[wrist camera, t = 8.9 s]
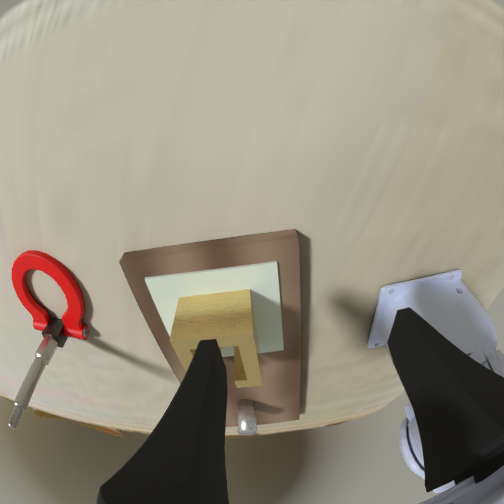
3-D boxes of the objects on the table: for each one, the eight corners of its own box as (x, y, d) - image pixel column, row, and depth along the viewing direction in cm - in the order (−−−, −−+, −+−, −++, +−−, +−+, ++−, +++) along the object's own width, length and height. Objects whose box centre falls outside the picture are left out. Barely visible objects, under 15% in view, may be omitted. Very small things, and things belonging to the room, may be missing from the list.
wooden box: (249, 289, 19) (252, 332, 15) (259, 344, 22) (262, 385, 19) (179, 297, 19) (169, 340, 16) (199, 350, 22) (196, 390, 19)
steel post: (254, 398, 27) (256, 428, 24) (256, 405, 28) (258, 434, 25) (235, 399, 27) (236, 429, 24) (238, 407, 28) (239, 435, 25)
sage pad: (276, 261, 18) (276, 262, 18) (283, 348, 23) (283, 350, 23) (145, 277, 18) (144, 279, 18) (181, 357, 23) (180, 359, 23)
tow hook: (8, 246, 18) (36, 322, 22) (-74, 336, 7) (-14, 414, 11) (73, 249, 19) (98, 333, 23) (-17, 373, 7) (55, 449, 12)
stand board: (295, 229, 18) (298, 238, 17) (297, 412, 32) (299, 419, 31) (124, 252, 19) (119, 261, 18) (209, 419, 33) (209, 427, 32)
